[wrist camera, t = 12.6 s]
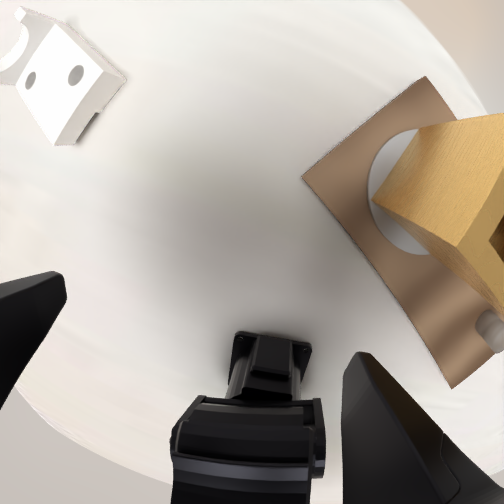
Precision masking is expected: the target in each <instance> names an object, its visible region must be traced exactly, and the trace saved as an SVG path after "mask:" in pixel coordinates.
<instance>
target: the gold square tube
mask: <svg viewBox="0 0 504 504" xmlns="http://www.w3.org/2000/svg"><path fill="white" fill-rule="evenodd" d="M371 201H372V202H374V203H375V204H376V205H377V206H378V207H380V208H381V209H382V210H383V211H384V212H385V213H386V214H388V215H389V216H390V217H391V218H392V219H393V220H394V221H396V222H397V223H398V224H399V225H400V226H401V227H402V228H403V229H404V230H406V231H407V232H408V233H409V234H410V235H411V236H412V237H413V238H414V239H415V240H416V241H417V242H418V243H419V244H420V245H421V246H423V247H424V248H425V249H426V250H427V251H428V252H429V253H430V254H431V255H432V256H433V257H435V258H436V259H437V260H439V261H440V262H441V263H442V264H444V265H445V266H446V267H447V268H449V269H450V270H451V271H452V272H454V273H455V274H456V275H457V276H459V277H460V278H461V279H462V280H463V281H465V282H466V283H467V284H468V285H469V286H471V287H472V288H473V289H474V290H475V291H476V292H478V293H479V294H480V295H481V296H482V297H483V298H484V299H485V300H487V301H488V302H489V303H490V304H491V305H492V306H493V307H494V308H495V309H496V310H497V311H499V312H500V313H501V314H502V315H503V316H504V113H499V114H492V115H485V116H479V117H473V118H467V119H461V120H456V121H450V122H445V123H440V124H435V125H430V126H426V127H421V128H419V129H418V131H417V132H416V134H415V135H414V137H413V138H412V140H411V142H410V143H409V145H408V146H407V148H406V149H405V151H404V152H403V154H402V155H401V157H400V158H399V160H398V161H397V163H396V164H395V165H394V167H393V168H392V170H391V171H390V173H389V174H388V176H387V177H386V179H385V180H384V181H383V183H382V184H381V186H380V187H379V188H378V190H377V191H376V193H375V194H374V195H373V197H372V198H371Z"/></svg>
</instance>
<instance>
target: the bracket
mask: <svg viewBox="0 0 504 504" xmlns="http://www.w3.org/2000/svg"><path fill="white" fill-rule="evenodd" d="M14 16H15V17H16V18H17V20H18V21H19V22H20V23H22V33H21V36H20V38H19V40H18V42H17V44H16V45H15V47H14V48H13V49H12V50H11V51H10V52H9V53H8V54H7V55H6V56H5V57H3V58H2V59H0V84H4V85H14V86H16V88H17V90H18V92H19V93H20V95H21V97H22V98H23V100H24V102H25V103H26V105H27V107H28V108H29V110H30V111H31V113H32V115H33V116H34V118H35V119H36V121H37V123H38V124H39V126H40V127H41V129H42V130H43V132H44V133H45V135H46V136H47V138H48V139H49V141H50V142H51V144H52V145H53V146H61V145H74V144H75V142H76V140H77V139H78V137H79V136H80V134H81V133H82V131H83V130H84V128H85V127H86V125H87V124H88V122H89V121H90V119H91V118H92V117H93V115H94V114H95V112H98V113H101V111H102V110H103V109H104V107H105V106H106V105H107V104H108V102H109V101H110V100H111V98H112V97H113V96H114V95H115V93H116V92H117V91H118V90H119V89H120V87H121V86H122V85H123V84H124V83H125V81H126V79H125V78H124V77H123V76H122V75H121V74H120V73H119V72H118V71H117V70H116V69H115V68H114V67H113V66H112V65H111V64H110V63H109V62H108V61H107V60H106V59H105V58H104V57H103V56H101V55H100V54H99V53H98V52H97V51H96V50H95V49H94V48H93V47H92V46H91V45H90V44H89V43H88V42H86V41H85V40H84V39H83V38H82V37H81V36H80V35H79V34H78V33H77V32H76V31H75V30H73V29H72V28H71V27H70V26H69V25H68V24H66V23H64V22H61V21H59V20H57V19H54V18H52V17H49V16H46V15H44V14H41V13H38V12H36V11H33V10H30V9H27V8H24V7H21V6H20V7H19V9H18V10H17V11H16V13H15V14H14Z"/></svg>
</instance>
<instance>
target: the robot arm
mask: <svg viewBox="0 0 504 504" xmlns="http://www.w3.org/2000/svg"><path fill="white" fill-rule="evenodd" d="M66 300H67V293H66V287H65V281H64V277H63V275H62V274H60V273H58V272H55V271H50V272H45V273H41V274H37V275H33V276H29V277H25V278H21V279H17V280H13V281H9V282H5V283H1V284H0V410H1V407H2V406H3V404H4V402H5V401H6V399H7V397H8V395H9V394H10V392H11V390H12V388H13V387H14V385H15V383H16V382H17V380H18V378H19V377H20V375H21V373H22V372H23V370H24V369H25V367H26V366H27V364H28V362H29V361H30V359H31V358H32V356H33V355H34V353H35V352H36V350H37V349H38V347H39V346H40V344H41V343H42V342H43V340H44V338H45V337H46V335H47V334H48V332H49V330H50V328H51V327H52V325H53V323H54V321H55V320H56V318H57V316H58V315H59V313H60V311H61V310H62V308H63V307H64V305H65V303H66ZM238 337H242V338H243V339H239V338H238ZM305 348H308V350H304V349H305ZM311 353H312V346H311V345H310V344H309V343H303V342H297V341H290V340H287V339H281V338H275V337H270V336H264V335H256V334H250V333H245V332H237V333H236V334H235V337H234V342H233V350H232V357H231V364H230V371H229V379H228V385H229V387H228V390H227V393H226V397H225V399H224V398H211V397H206V396H204V395H198V397H197V398H196V399H195V400H194V402H193V403H192V404H191V405H190V406H189V408H188V409H187V410H186V411H185V413H184V414H183V415H182V416H181V418H180V419H179V420H178V421H177V423H176V424H175V426H174V427H173V428H172V436H171V438H170V455H171V460H172V462H173V488H172V496H171V504H310V492H311V479H312V478H313V479H317V478H323V475H324V469H325V458H326V435H325V425H324V418H323V412H322V405H321V399H320V398H313V400H300V384H301V381H302V379H303V376H304V373H305V370H306V367H307V365H308V362H309V359H310V356H311ZM341 436H342V462H343V504H504V488H502V487H500V486H499V485H498V484H496V483H495V482H494V481H493V480H492V479H491V478H490V477H489V476H488V475H487V474H485V473H484V472H483V471H482V470H481V469H480V468H479V467H478V466H477V465H476V464H475V463H473V462H472V461H471V460H470V459H469V458H468V457H467V456H466V455H465V454H464V453H463V452H462V451H461V450H460V449H459V448H458V447H457V446H456V445H455V444H454V443H453V441H452V440H451V439H450V438H449V437H448V436H447V435H446V434H445V433H443V431H442V429H441V428H440V427H439V426H438V425H437V424H436V423H435V422H434V421H433V420H432V419H431V417H430V416H429V415H428V414H427V413H426V412H425V411H424V410H423V409H422V408H421V407H420V406H419V404H418V403H417V402H416V401H415V400H414V399H413V398H412V397H411V396H410V395H409V394H408V393H407V392H406V391H405V389H404V388H403V387H402V386H401V385H400V384H399V383H398V382H397V381H396V380H395V379H394V378H393V377H392V376H391V375H390V373H389V372H388V371H387V370H386V369H385V368H384V367H383V366H382V365H381V364H380V363H379V362H378V361H377V360H376V359H375V358H374V357H373V356H372V355H371V354H370V353H366V352H356V353H355V354H354V356H353V358H352V359H351V361H350V363H349V365H348V366H347V368H346V370H345V372H344V375H343V391H342V412H341Z"/></svg>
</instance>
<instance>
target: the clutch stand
mask: <svg viewBox="0 0 504 504" xmlns="http://www.w3.org/2000/svg"><path fill="white" fill-rule="evenodd" d="M456 120H457V119H456V117H455V116H454V114H453V113H452V111H451V110H450V108H449V107H448V105H447V104H446V102H445V101H444V100H443V98H442V97H441V95H440V94H439V93H438V91H437V90H436V89H435V87H434V86H433V85H432V83H431V82H430V81H429V80H428V78H427V77H426V76H424V77H422V78H421V79H419V80H417V81H416V82H415V83H413V84H412V85H411V86H410V87H408V88H407V89H406V90H405V91H403V92H402V93H401V94H400V95H398V96H397V97H396V98H395V99H393V100H392V101H391V102H390V103H389V104H387V105H386V106H385V107H384V108H382V109H381V110H380V111H379V112H377V113H376V114H375V115H374V116H373V117H371V118H370V119H369V120H368V121H366V122H365V123H364V124H363V125H362V126H360V127H359V128H358V129H357V130H356V131H354V132H353V133H352V134H351V135H350V136H348V137H347V138H346V139H345V140H344V141H342V142H341V143H340V144H339V145H338V146H336V147H335V148H334V149H333V150H332V151H330V152H329V153H328V154H327V155H326V156H325V157H323V158H322V159H321V160H320V161H319V162H318V163H316V164H315V165H314V166H313V167H312V168H311V169H309V170H308V171H307V172H306V173H305V174H304V175H302V176H301V177H302V178H303V179H304V180H305V182H306V183H307V184H308V185H309V186H310V187H311V189H312V190H313V191H314V192H315V193H316V194H317V196H318V197H319V198H320V199H321V200H322V201H323V203H324V204H325V205H326V206H327V207H328V209H329V210H330V211H331V212H332V214H333V215H334V216H335V217H336V218H337V220H338V221H339V222H340V223H341V225H342V226H343V227H344V228H345V230H346V231H347V232H348V233H349V235H350V236H351V237H352V239H353V240H354V241H355V242H356V244H357V245H358V246H359V248H360V249H361V250H362V252H363V253H364V254H365V256H366V257H367V258H368V260H369V261H370V262H371V264H372V265H373V266H374V268H375V269H376V271H377V272H378V273H379V275H380V276H381V278H382V279H383V280H384V282H385V283H386V285H387V286H388V287H389V289H390V290H391V292H392V293H393V295H394V296H395V298H396V299H397V301H398V302H399V304H400V305H401V306H402V308H403V310H404V311H405V313H406V314H407V316H408V317H409V319H410V320H411V322H412V323H413V325H414V326H415V328H416V330H417V331H418V333H419V334H420V336H421V338H422V339H423V341H424V342H425V344H426V346H427V347H428V349H429V351H430V352H431V354H432V356H433V358H434V359H435V361H436V363H437V364H438V366H439V368H440V370H441V371H442V373H443V375H444V377H445V379H446V380H447V382H448V384H449V386H450V388H451V389H453V388H454V387H456V386H457V385H458V384H459V383H461V382H462V381H463V380H465V379H466V378H467V377H468V376H470V375H471V374H472V373H473V372H475V371H476V370H477V369H478V368H479V367H480V366H482V365H483V364H484V363H485V362H486V361H487V360H489V359H490V358H491V357H492V356H493V355H494V354H495V353H500V352H502V351H503V350H504V316H503V315H502V314H501V313H500V312H499V311H497V310H496V309H495V308H494V307H493V306H492V305H491V304H490V303H489V302H488V301H487V300H485V299H484V298H483V297H482V296H481V295H480V294H479V293H478V292H476V291H475V290H474V289H473V288H472V287H471V286H469V285H468V284H467V283H466V282H465V281H463V280H462V279H461V278H460V277H459V276H457V275H456V274H455V273H454V272H452V271H451V270H450V269H449V268H447V267H446V266H445V265H444V264H442V263H441V262H440V261H439V260H437V259H436V258H435V257H433V256H432V255H431V254H430V253H429V252H428V251H427V250H426V249H425V248H424V247H423V246H421V245H420V244H419V243H418V242H417V241H416V240H415V239H414V238H413V237H412V236H411V235H410V234H409V233H408V232H407V231H406V230H404V229H403V228H402V227H401V226H400V225H399V224H398V223H397V222H396V221H394V220H393V219H392V218H391V217H390V216H389V215H388V214H386V213H385V212H384V211H383V210H382V209H381V208H380V207H378V206H377V205H376V204H375V203H374V202H372V201H371V198H372V197H373V195H374V194H375V193H376V191H377V190H378V188H379V187H380V186H381V184H382V183H383V181H384V180H385V179H386V177H387V176H388V174H389V173H390V171H391V170H392V168H393V167H394V165H395V164H396V163H397V161H398V160H399V158H400V157H401V155H402V154H403V152H404V151H405V149H406V148H407V146H408V145H409V143H410V142H411V140H412V138H413V137H414V135H415V134H416V132H417V131H418V129H419V128H421V127H426V126H430V125H435V124H440V123H445V122H450V121H456Z"/></svg>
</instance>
